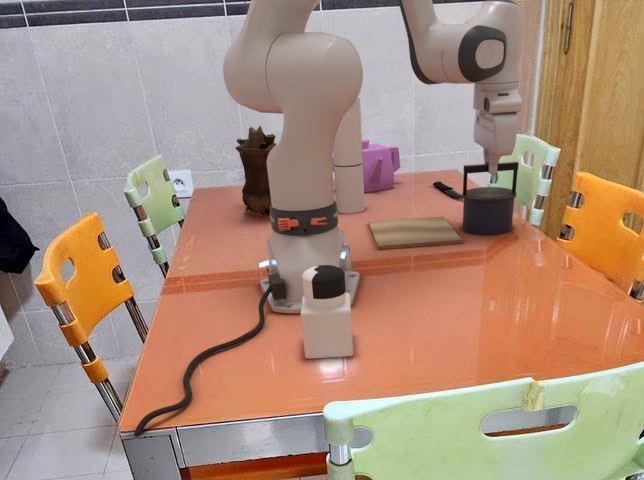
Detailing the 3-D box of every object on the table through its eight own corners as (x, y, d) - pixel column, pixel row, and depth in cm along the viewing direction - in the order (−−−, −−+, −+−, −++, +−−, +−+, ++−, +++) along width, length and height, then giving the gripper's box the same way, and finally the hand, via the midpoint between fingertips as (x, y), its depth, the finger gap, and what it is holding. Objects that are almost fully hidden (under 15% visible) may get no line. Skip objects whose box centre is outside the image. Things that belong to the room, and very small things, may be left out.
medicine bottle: (352, 337, 101) (347, 259, 94) (353, 356, 95) (348, 275, 88) (306, 339, 101) (298, 262, 94) (305, 359, 95) (296, 279, 88)
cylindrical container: (365, 206, 169) (361, 95, 154) (363, 213, 163) (358, 98, 149) (338, 206, 170) (331, 96, 155) (335, 213, 164) (327, 100, 149)
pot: (520, 233, 142) (526, 167, 134) (467, 237, 142) (470, 171, 134) (505, 219, 152) (510, 157, 144) (455, 223, 151) (458, 161, 144)
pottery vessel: (288, 222, 159) (278, 132, 147) (243, 226, 158) (230, 135, 147) (285, 199, 179) (276, 118, 168) (245, 202, 178) (234, 121, 167)
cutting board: (461, 243, 138) (462, 239, 138) (378, 249, 137) (378, 245, 137) (443, 219, 155) (443, 216, 154) (368, 225, 154) (368, 221, 153)
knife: (432, 182, 183) (442, 180, 183) (432, 187, 184) (442, 185, 184) (457, 197, 166) (468, 195, 167) (457, 202, 167) (468, 201, 168)
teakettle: (403, 182, 190) (402, 135, 183) (382, 195, 178) (380, 145, 170) (350, 180, 196) (347, 134, 189) (326, 193, 183) (322, 144, 176)
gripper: (468, 94, 140) (465, 164, 148) (492, 104, 124) (487, 182, 132) (497, 92, 140) (492, 162, 148) (525, 102, 124) (518, 180, 132)
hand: (490, 172), depth 140 cm, fingers closed on pot
